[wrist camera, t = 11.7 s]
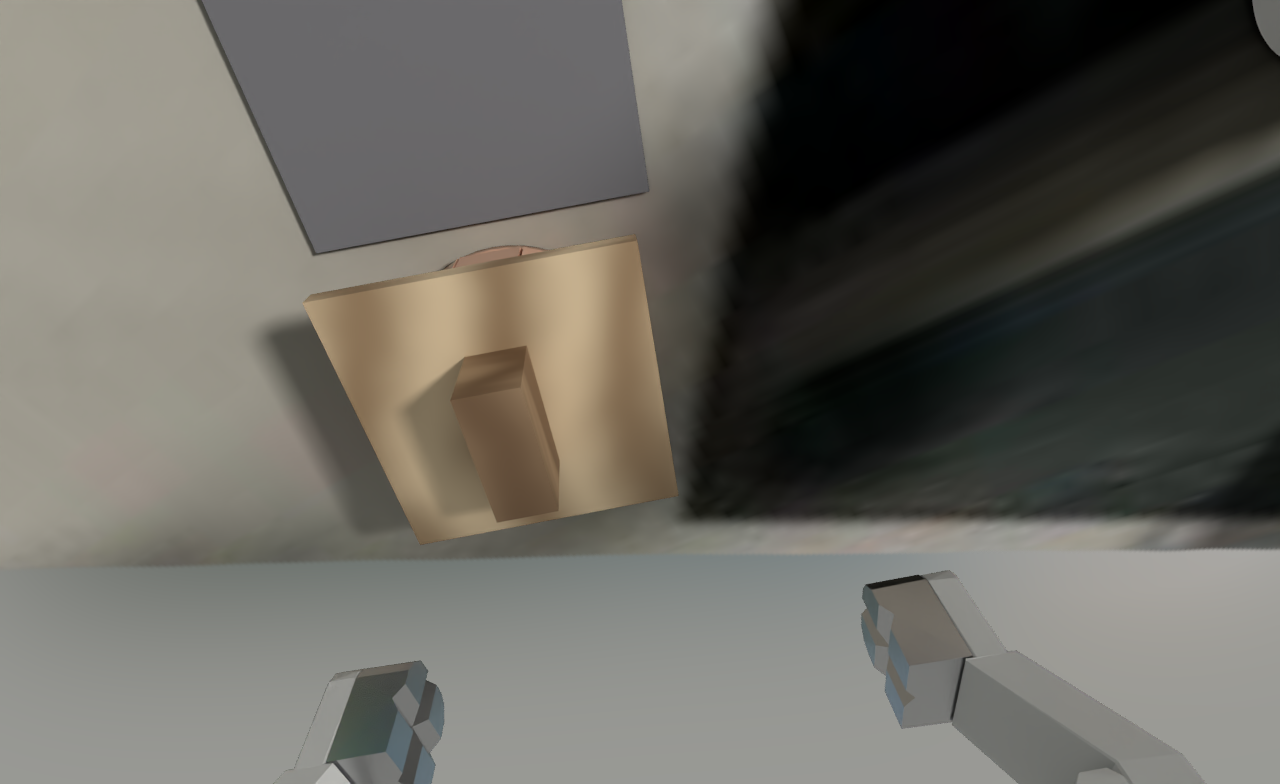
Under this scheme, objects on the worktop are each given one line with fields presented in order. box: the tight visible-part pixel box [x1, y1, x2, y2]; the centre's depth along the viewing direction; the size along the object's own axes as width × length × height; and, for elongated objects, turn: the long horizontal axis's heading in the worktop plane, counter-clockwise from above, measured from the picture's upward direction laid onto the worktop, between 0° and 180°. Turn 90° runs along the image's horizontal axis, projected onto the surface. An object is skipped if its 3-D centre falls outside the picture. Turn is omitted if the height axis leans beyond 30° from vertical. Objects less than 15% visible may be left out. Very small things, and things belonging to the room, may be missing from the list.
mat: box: [202, 0, 649, 253], centre depth 27 cm, size 18×18×1 cm
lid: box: [303, 234, 679, 545], centre depth 29 cm, size 15×15×5 cm
